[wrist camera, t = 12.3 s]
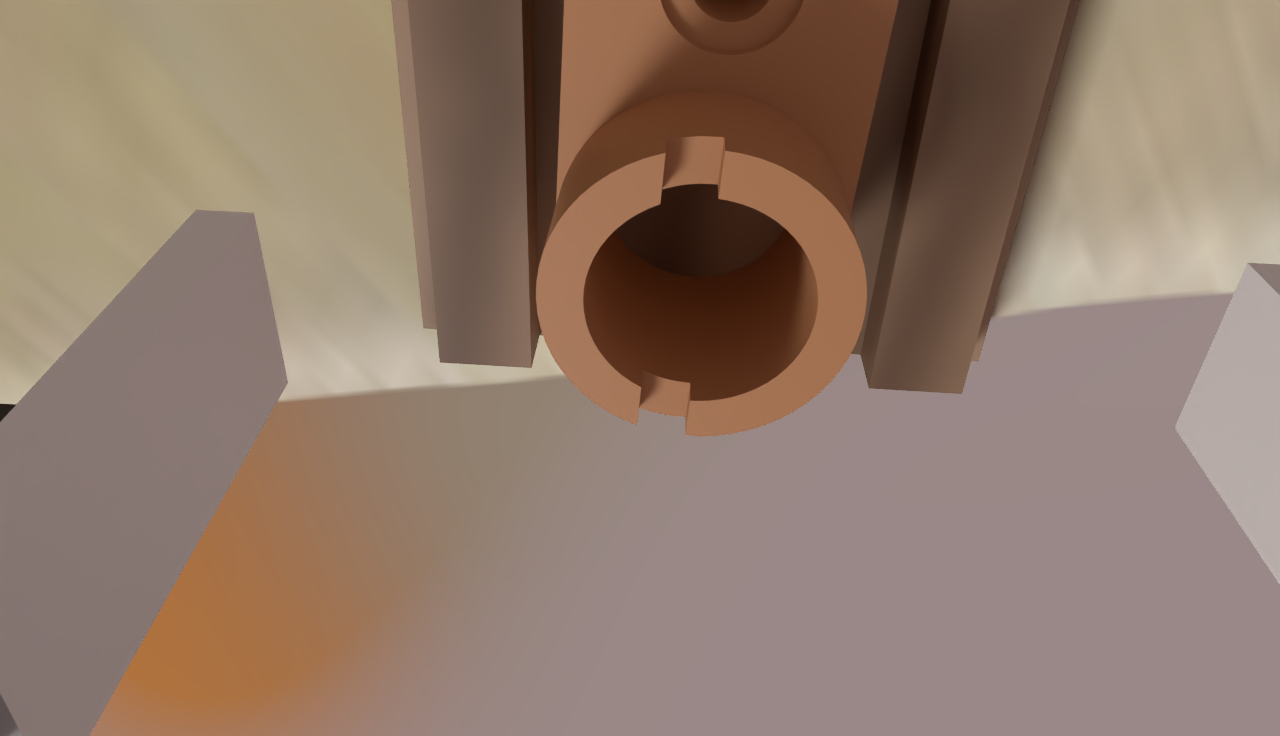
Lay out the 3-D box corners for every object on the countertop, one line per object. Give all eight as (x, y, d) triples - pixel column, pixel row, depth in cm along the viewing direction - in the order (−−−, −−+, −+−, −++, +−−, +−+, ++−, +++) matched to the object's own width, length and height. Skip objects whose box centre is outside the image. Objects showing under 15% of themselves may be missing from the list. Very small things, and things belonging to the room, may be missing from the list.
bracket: (808, 319, 33) (831, 449, 27) (561, 294, 33) (531, 419, 27) (948, -342, 23) (1032, -357, 17) (591, -379, 23) (555, -405, 17)
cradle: (427, 318, 34) (409, 360, 32) (347, -522, 22) (309, -546, 20) (974, 351, 34) (992, 395, 32) (1204, -484, 22) (1259, -503, 20)
